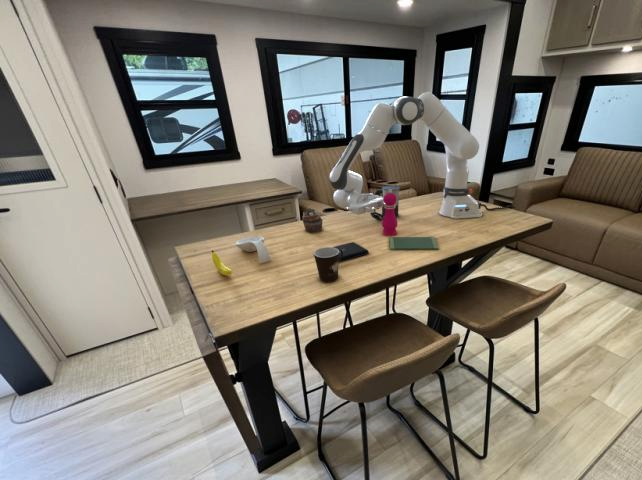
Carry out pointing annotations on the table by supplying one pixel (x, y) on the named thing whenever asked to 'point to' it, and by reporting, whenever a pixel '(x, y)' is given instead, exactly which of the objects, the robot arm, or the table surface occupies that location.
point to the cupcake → (312, 221)
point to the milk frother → (384, 191)
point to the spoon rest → (255, 247)
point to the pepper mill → (389, 214)
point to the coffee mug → (327, 263)
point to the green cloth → (413, 243)
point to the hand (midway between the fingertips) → (381, 208)
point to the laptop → (351, 251)
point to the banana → (220, 265)
